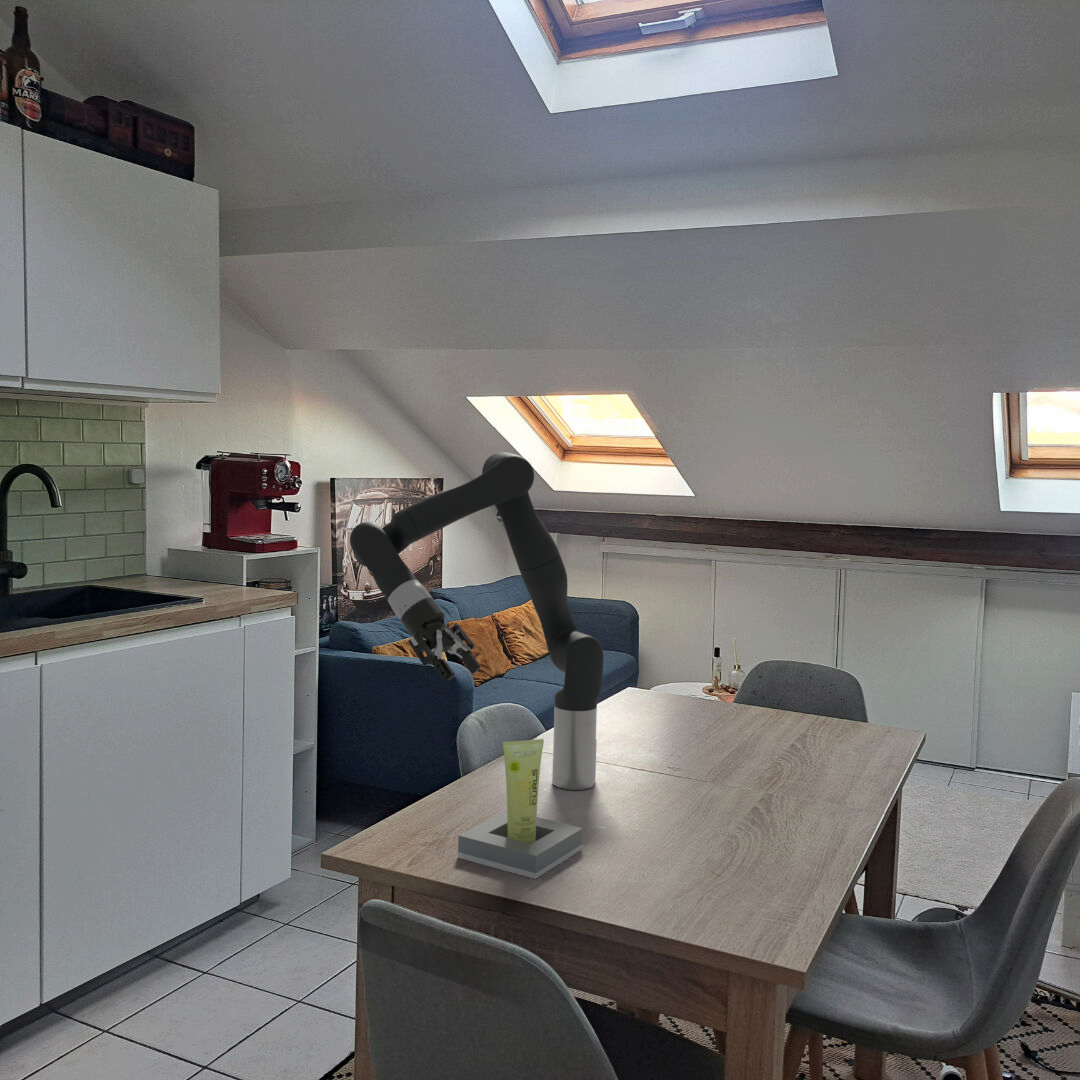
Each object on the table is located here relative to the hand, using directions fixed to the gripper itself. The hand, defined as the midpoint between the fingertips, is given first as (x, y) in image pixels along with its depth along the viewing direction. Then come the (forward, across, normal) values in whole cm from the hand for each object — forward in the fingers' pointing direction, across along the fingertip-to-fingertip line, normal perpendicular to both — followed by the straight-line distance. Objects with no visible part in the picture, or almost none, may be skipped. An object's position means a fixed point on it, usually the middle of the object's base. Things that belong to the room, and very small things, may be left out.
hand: (464, 674), depth 188 cm
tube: (+32, -5, +9) cm, 33 cm away
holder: (+32, -5, +9) cm, 34 cm away
